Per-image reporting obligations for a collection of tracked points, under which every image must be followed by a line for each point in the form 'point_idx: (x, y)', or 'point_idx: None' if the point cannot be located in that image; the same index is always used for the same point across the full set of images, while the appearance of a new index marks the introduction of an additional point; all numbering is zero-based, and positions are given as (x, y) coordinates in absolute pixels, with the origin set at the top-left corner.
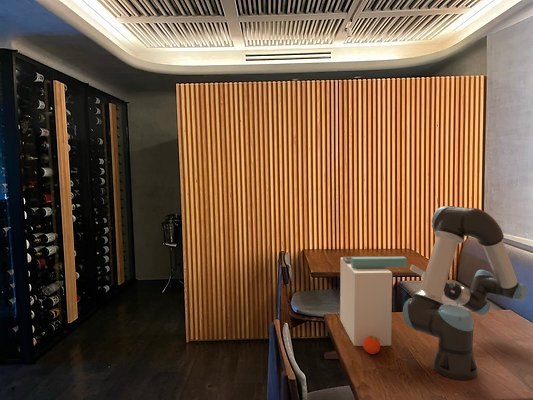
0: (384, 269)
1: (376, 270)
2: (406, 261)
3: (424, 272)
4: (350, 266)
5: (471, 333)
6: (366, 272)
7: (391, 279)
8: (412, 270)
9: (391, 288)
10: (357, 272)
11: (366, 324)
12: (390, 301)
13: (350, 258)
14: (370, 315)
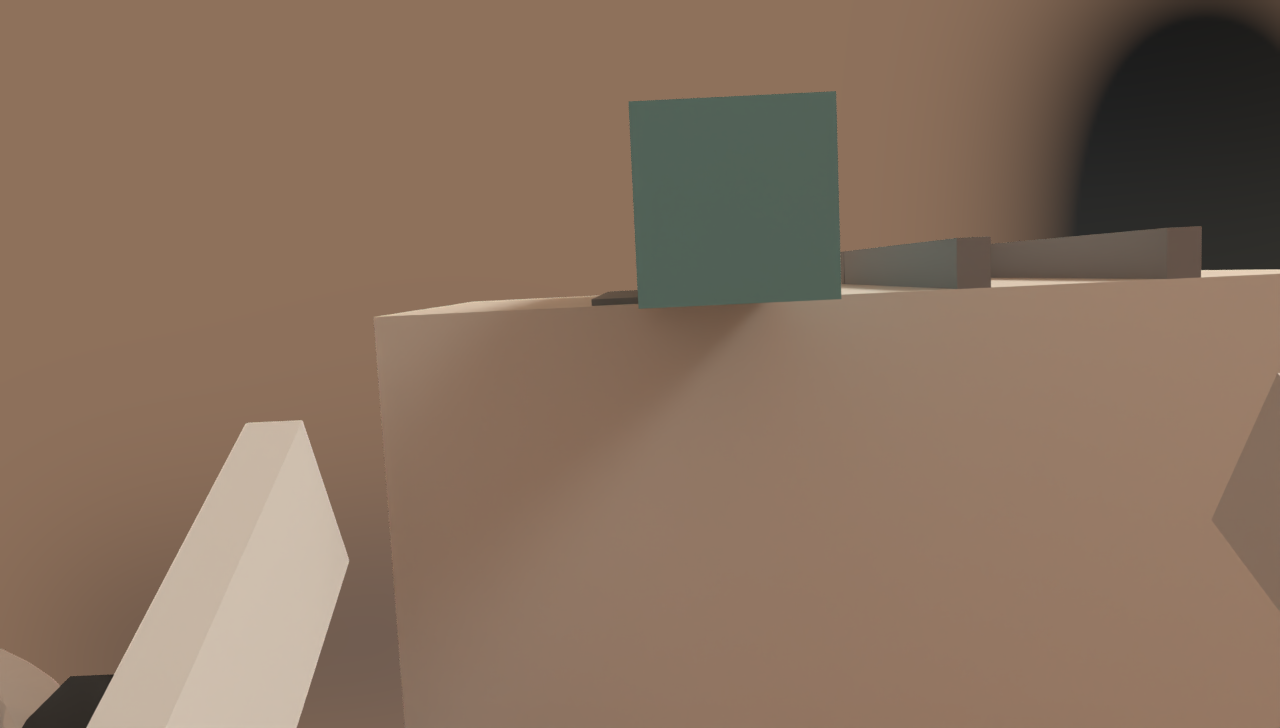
0: (555, 306)
1: (524, 304)
2: (634, 176)
3: (273, 431)
4: None
5: None
6: (466, 304)
7: (384, 415)
8: (1262, 567)
9: (392, 541)
10: (488, 301)
11: None
12: (407, 711)
13: (1002, 257)
14: None
